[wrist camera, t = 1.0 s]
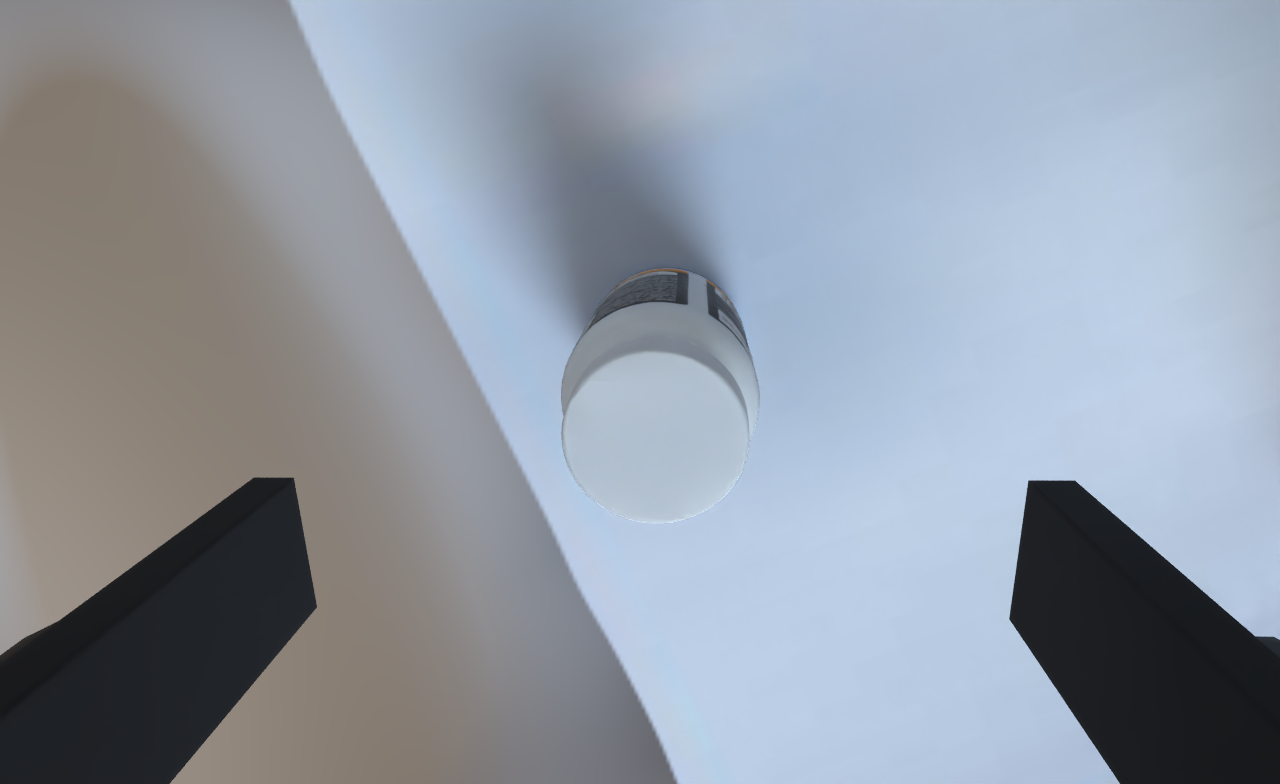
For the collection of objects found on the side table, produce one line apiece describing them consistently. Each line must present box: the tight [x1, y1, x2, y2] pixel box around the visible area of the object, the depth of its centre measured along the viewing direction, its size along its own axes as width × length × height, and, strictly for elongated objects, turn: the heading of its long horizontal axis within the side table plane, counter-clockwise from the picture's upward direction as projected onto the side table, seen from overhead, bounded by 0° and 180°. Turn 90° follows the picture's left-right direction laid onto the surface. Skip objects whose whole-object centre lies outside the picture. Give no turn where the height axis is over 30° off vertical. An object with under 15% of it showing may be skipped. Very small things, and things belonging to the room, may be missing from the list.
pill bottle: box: [561, 268, 760, 524], centre depth 23 cm, size 6×6×10 cm
